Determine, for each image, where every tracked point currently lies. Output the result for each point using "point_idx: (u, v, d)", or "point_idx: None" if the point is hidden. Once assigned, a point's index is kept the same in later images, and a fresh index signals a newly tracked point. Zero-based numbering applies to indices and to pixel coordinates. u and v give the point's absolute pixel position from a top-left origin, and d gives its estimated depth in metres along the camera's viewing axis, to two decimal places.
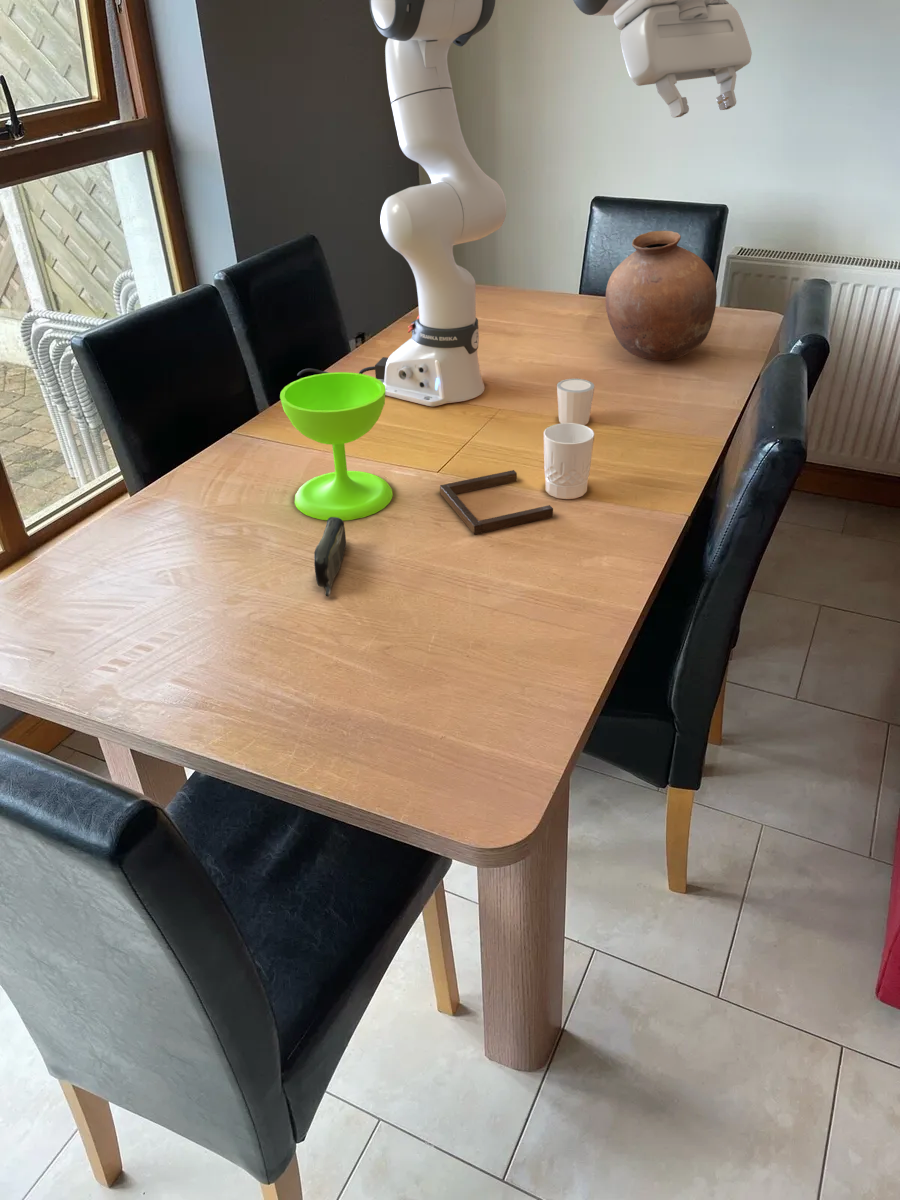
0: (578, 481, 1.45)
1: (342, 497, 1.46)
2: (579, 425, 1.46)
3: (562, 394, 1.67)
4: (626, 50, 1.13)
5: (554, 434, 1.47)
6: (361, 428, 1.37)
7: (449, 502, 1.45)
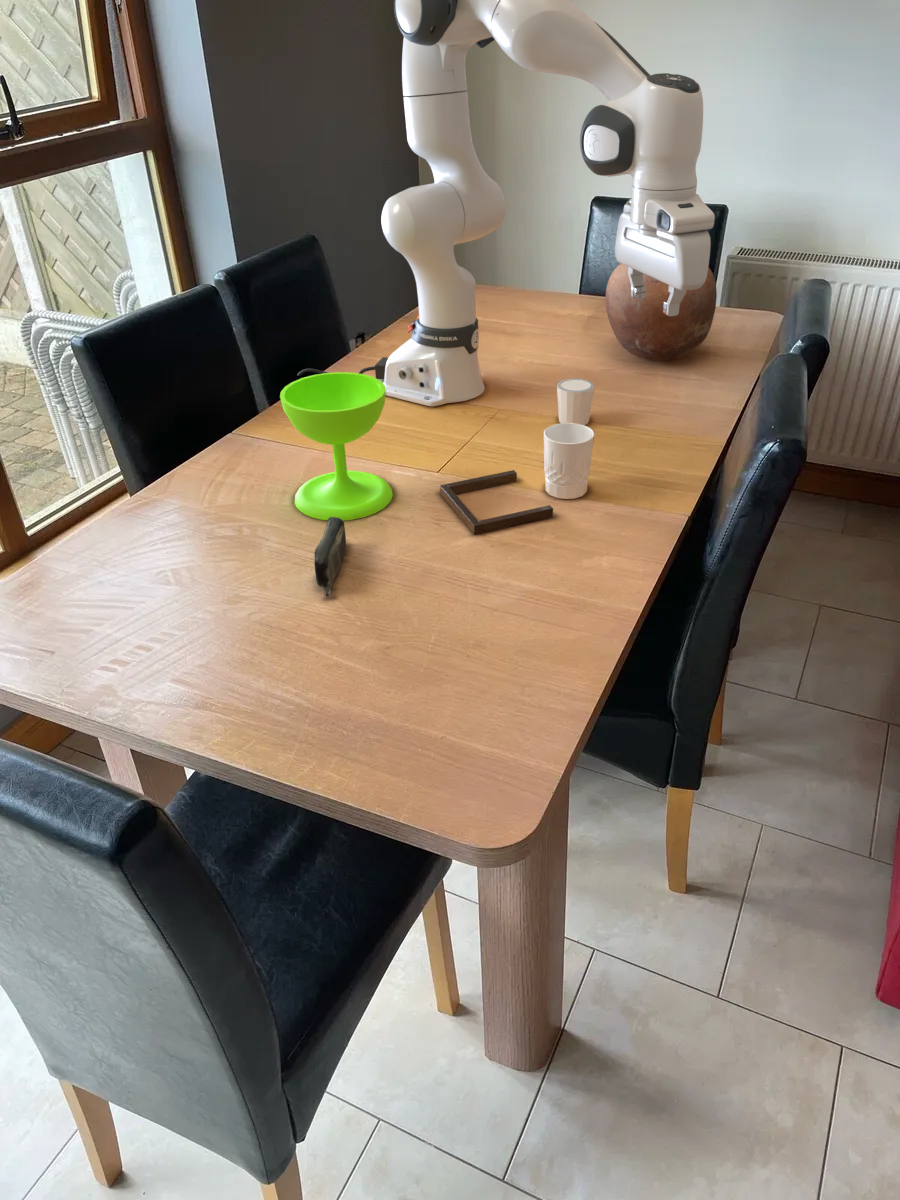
0: (578, 481, 1.45)
1: (342, 497, 1.46)
2: (579, 425, 1.46)
3: (562, 394, 1.67)
4: (688, 259, 1.24)
5: (554, 434, 1.47)
6: (361, 428, 1.37)
7: (449, 502, 1.45)
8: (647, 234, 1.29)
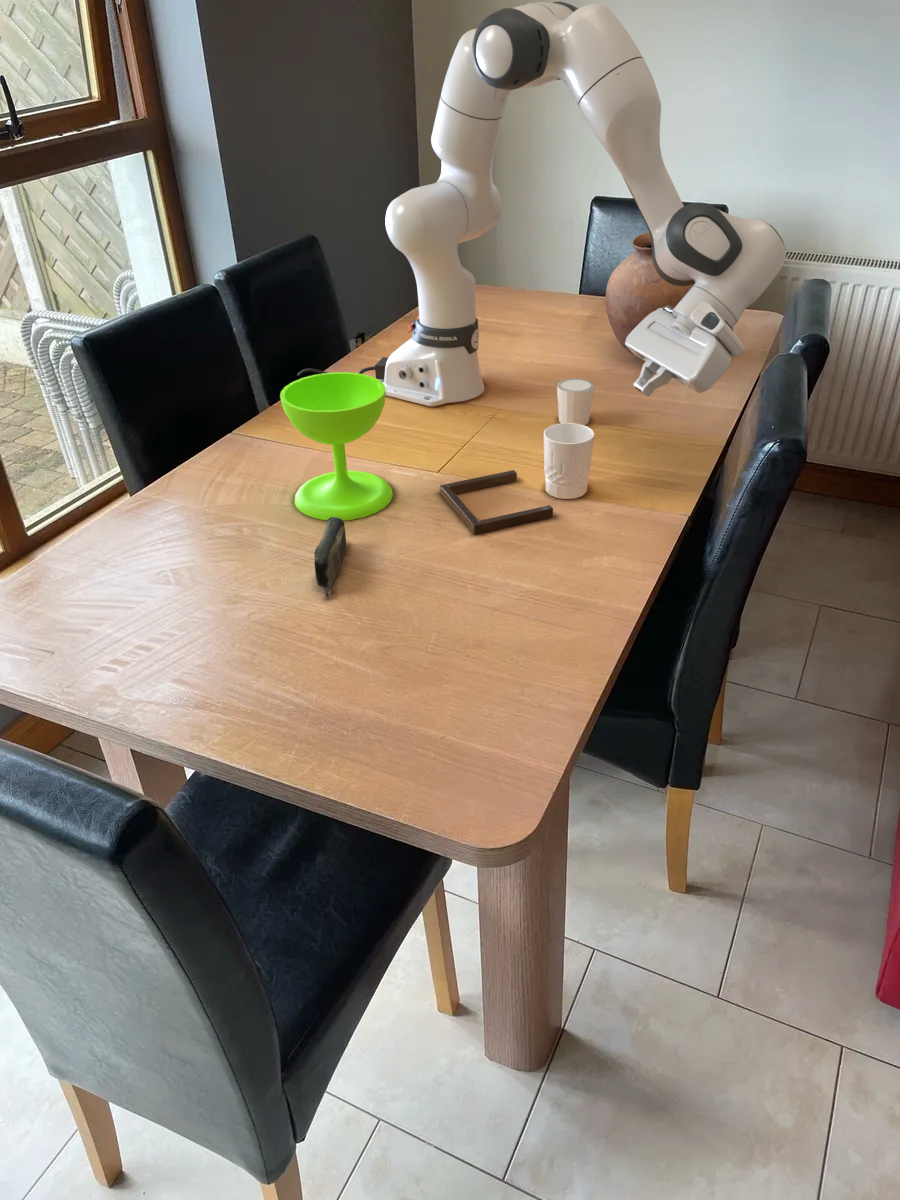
0: (578, 481, 1.45)
1: (342, 497, 1.46)
2: (579, 425, 1.46)
3: (562, 394, 1.67)
4: (711, 361, 1.34)
5: (554, 434, 1.47)
6: (361, 428, 1.37)
7: (449, 502, 1.45)
8: (682, 328, 1.39)
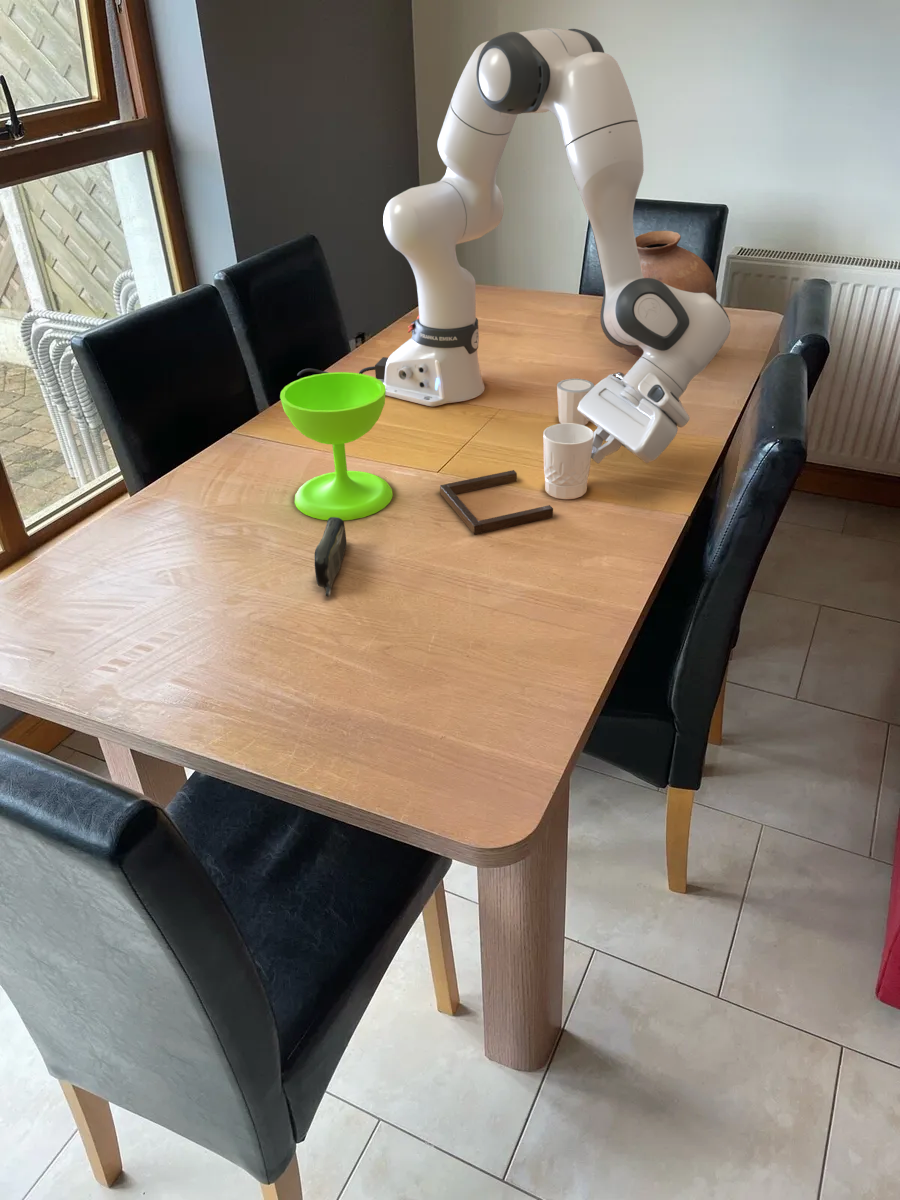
0: (577, 481, 1.44)
1: (342, 497, 1.46)
2: (579, 425, 1.46)
3: (562, 394, 1.67)
4: (657, 433, 1.37)
5: (554, 435, 1.47)
6: (361, 428, 1.37)
7: (449, 502, 1.45)
8: (630, 398, 1.43)
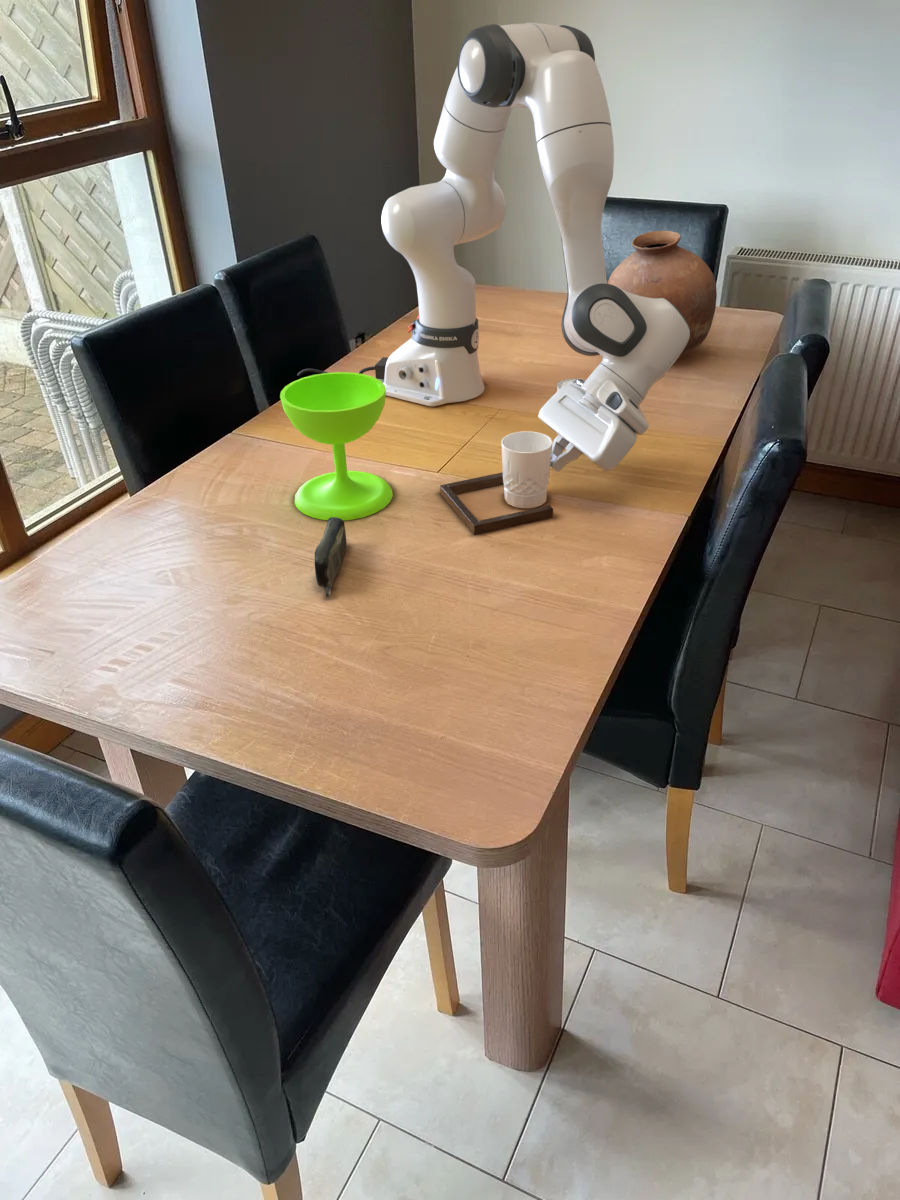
0: (535, 491, 1.42)
1: (342, 497, 1.46)
2: (539, 434, 1.44)
3: None
4: (615, 441, 1.35)
5: (514, 443, 1.45)
6: (361, 428, 1.37)
7: (449, 502, 1.45)
8: (589, 405, 1.40)
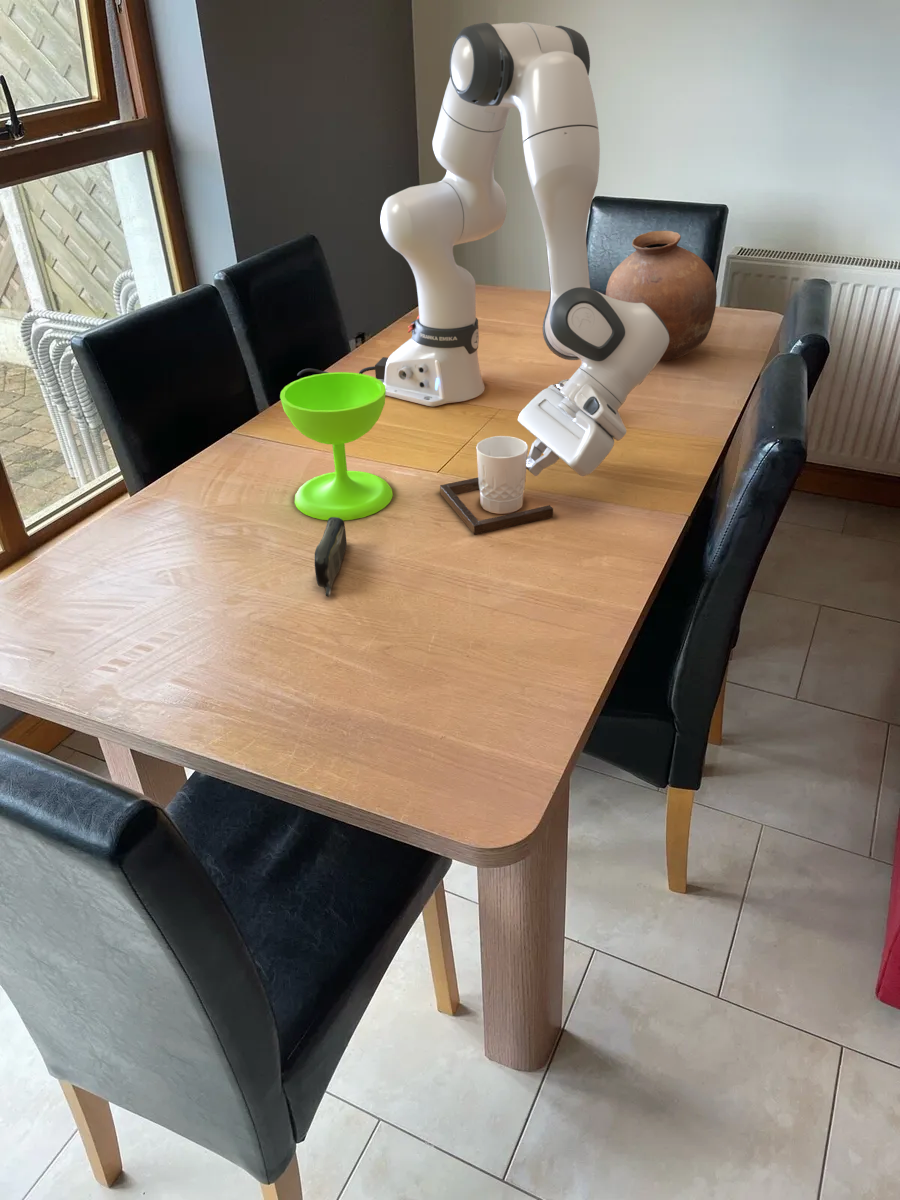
0: (511, 496, 1.41)
1: (342, 497, 1.46)
2: (515, 438, 1.42)
3: None
4: (592, 447, 1.34)
5: (489, 447, 1.43)
6: (361, 428, 1.37)
7: (449, 502, 1.45)
8: (567, 410, 1.39)
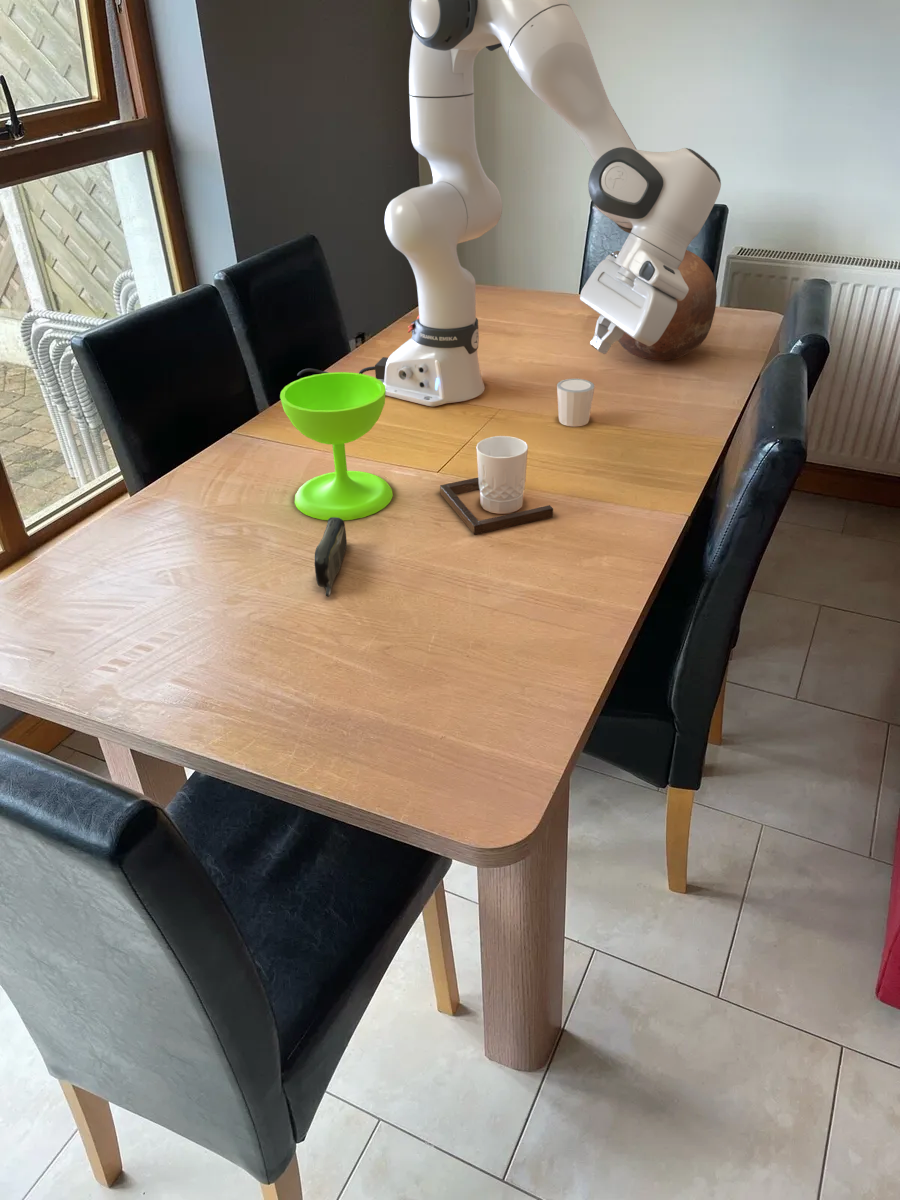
0: (511, 496, 1.41)
1: (342, 497, 1.46)
2: (515, 438, 1.42)
3: (562, 394, 1.67)
4: (653, 314, 1.31)
5: (489, 447, 1.43)
6: (361, 428, 1.37)
7: (449, 502, 1.45)
8: (624, 280, 1.36)
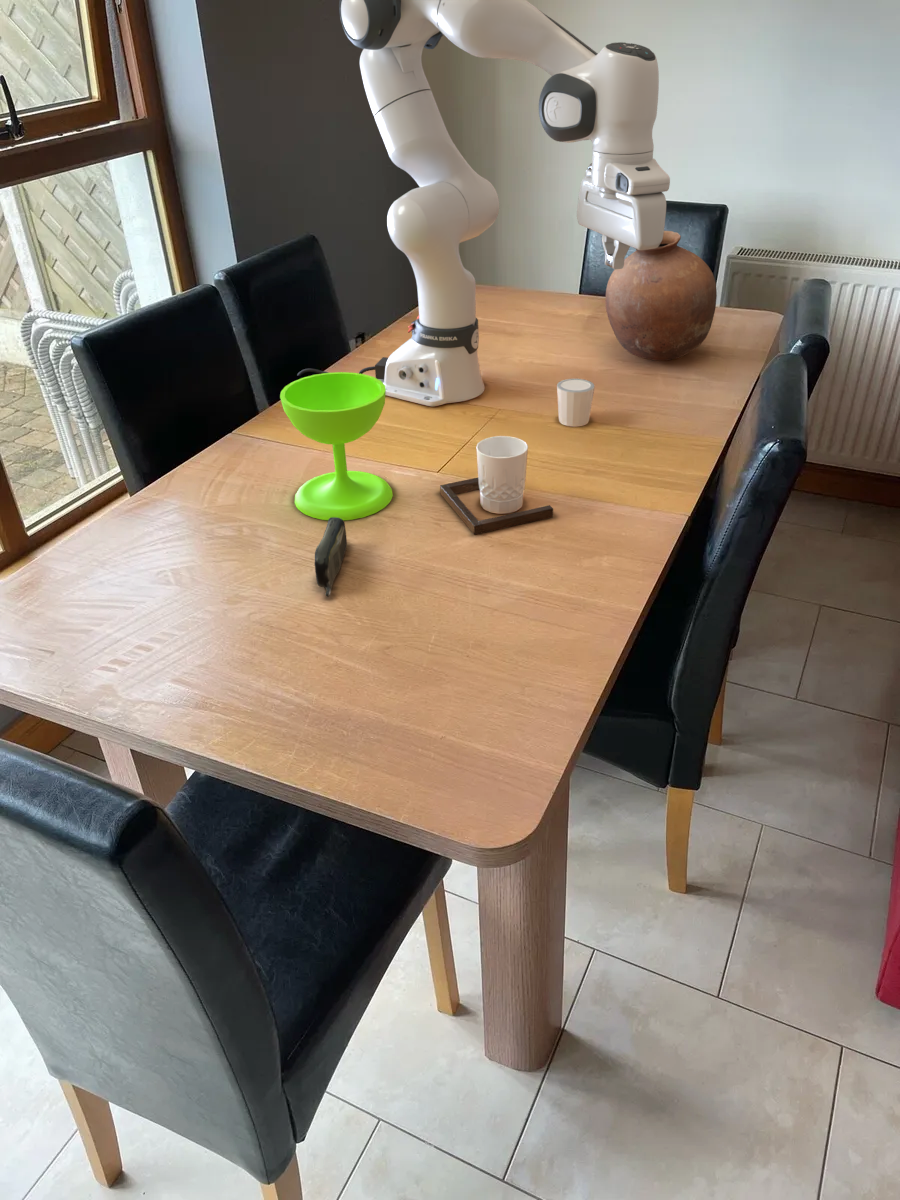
0: (511, 496, 1.41)
1: (342, 497, 1.46)
2: (515, 438, 1.42)
3: (562, 394, 1.67)
4: (645, 220, 1.31)
5: (489, 447, 1.43)
6: (361, 428, 1.37)
7: (449, 502, 1.45)
8: (607, 196, 1.36)
